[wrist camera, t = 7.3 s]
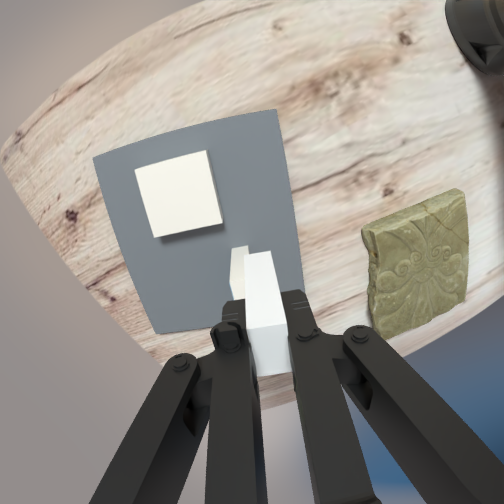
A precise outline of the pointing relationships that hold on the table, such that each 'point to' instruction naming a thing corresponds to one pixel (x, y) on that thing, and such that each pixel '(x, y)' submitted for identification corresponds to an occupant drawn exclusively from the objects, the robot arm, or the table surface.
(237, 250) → the tile
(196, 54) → the table surface
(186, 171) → the tile
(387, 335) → the decorative tile
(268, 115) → the felt mat
